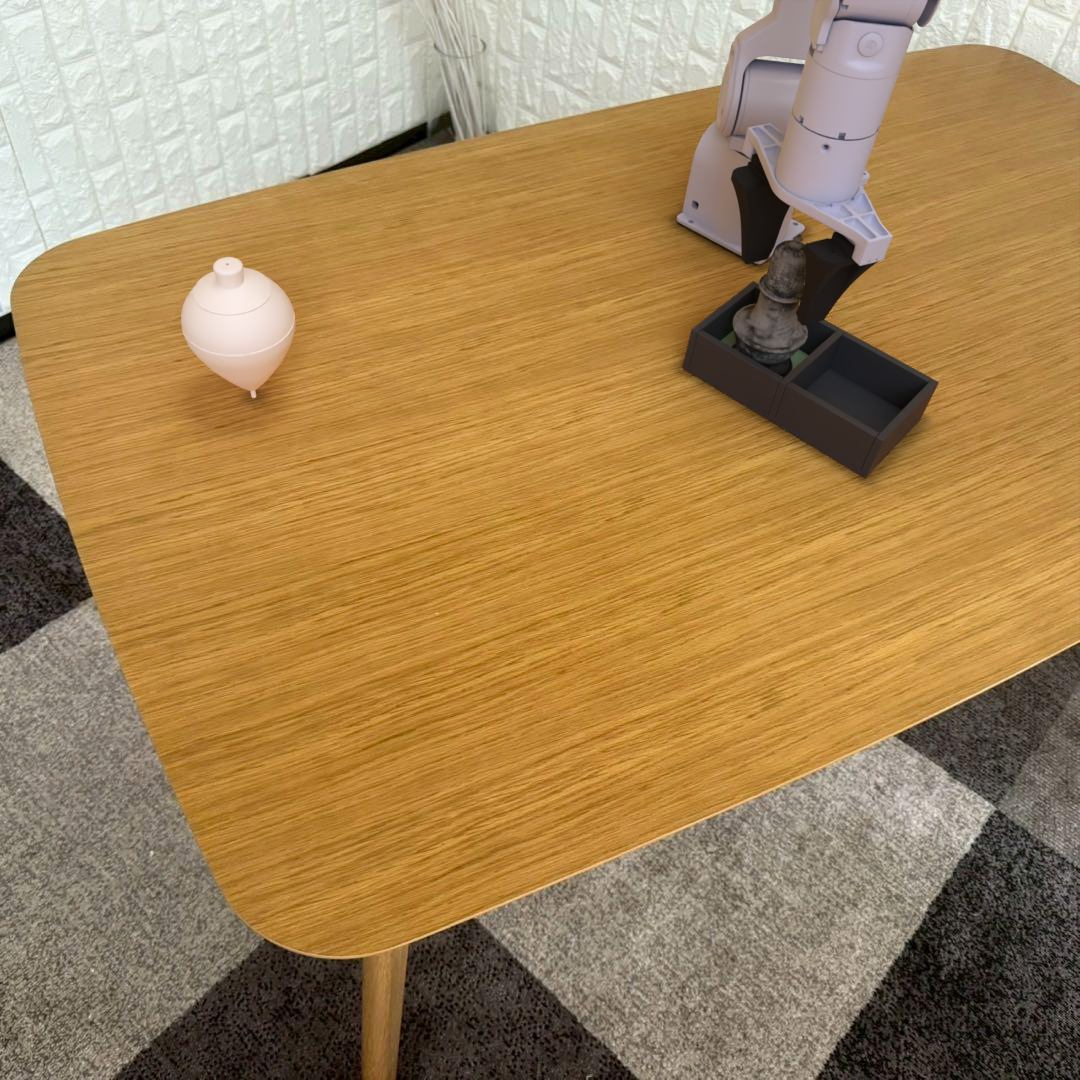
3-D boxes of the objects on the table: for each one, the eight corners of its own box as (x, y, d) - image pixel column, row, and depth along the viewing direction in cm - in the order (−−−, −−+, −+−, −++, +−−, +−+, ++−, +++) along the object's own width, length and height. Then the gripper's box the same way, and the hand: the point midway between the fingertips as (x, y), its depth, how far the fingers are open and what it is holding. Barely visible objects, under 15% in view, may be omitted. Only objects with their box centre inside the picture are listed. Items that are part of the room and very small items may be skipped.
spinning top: (296, 356, 80) (276, 223, 70) (314, 423, 75) (296, 291, 66) (195, 372, 78) (161, 237, 68) (208, 442, 73) (173, 308, 64)
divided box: (681, 368, 82) (690, 329, 79) (742, 319, 86) (753, 280, 83) (865, 478, 76) (883, 441, 72) (920, 419, 80) (939, 382, 77)
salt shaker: (775, 397, 79) (819, 270, 70) (710, 364, 81) (744, 236, 72) (808, 358, 83) (853, 231, 73) (744, 328, 84) (781, 200, 75)
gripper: (956, 165, 63) (883, 336, 74) (821, 56, 71) (773, 224, 81) (865, 186, 61) (803, 359, 71) (736, 70, 69) (698, 242, 79)
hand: (782, 288), depth 76 cm, fingers open, 7 cm apart
